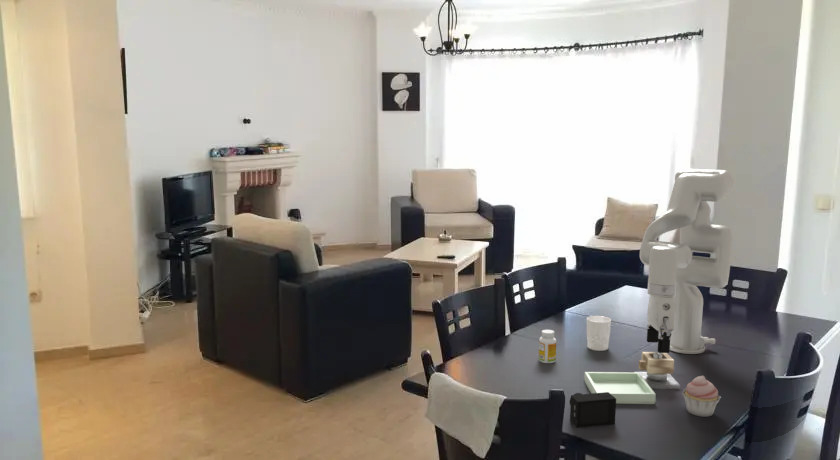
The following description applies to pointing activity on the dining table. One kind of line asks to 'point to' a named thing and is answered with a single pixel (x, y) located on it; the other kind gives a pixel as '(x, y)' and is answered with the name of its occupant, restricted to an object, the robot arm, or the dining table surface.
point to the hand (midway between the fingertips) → (657, 347)
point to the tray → (621, 386)
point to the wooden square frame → (656, 363)
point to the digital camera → (592, 409)
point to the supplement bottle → (547, 347)
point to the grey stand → (659, 378)
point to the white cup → (598, 332)
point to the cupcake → (701, 397)
